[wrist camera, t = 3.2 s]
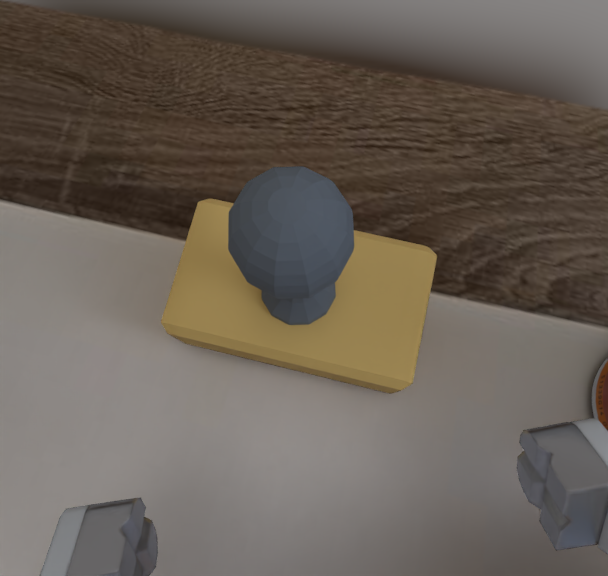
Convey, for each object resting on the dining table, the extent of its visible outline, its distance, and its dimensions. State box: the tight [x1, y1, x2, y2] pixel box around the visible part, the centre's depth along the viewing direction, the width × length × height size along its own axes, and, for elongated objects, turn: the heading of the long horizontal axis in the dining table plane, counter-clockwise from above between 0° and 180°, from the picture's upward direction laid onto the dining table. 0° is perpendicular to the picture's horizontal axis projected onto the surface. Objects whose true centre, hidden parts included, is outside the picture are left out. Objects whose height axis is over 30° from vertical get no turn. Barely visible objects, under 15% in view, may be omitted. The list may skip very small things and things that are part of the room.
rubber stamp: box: [161, 166, 437, 393], centre depth 18 cm, size 10×6×12 cm, turn 76°
